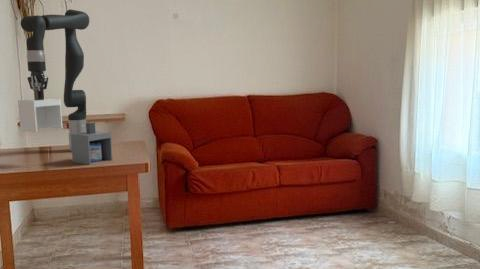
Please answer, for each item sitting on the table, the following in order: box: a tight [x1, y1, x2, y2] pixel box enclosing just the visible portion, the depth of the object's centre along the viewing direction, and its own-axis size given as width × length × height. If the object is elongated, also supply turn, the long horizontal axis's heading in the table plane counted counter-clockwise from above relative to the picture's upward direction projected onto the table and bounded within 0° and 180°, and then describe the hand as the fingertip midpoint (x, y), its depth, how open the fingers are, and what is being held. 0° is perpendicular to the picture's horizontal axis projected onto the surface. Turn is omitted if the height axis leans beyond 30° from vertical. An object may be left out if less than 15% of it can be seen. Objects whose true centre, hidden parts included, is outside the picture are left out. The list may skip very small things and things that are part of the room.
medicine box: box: [89, 143, 102, 163], centre depth 225 cm, size 8×4×9 cm, turn 117°
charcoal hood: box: [71, 121, 114, 166], centre depth 224 cm, size 13×13×19 cm
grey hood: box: [17, 89, 64, 133], centre depth 215 cm, size 13×13×19 cm
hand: (39, 98), depth 214 cm, fingers closed on grey hood, 3 cm apart
